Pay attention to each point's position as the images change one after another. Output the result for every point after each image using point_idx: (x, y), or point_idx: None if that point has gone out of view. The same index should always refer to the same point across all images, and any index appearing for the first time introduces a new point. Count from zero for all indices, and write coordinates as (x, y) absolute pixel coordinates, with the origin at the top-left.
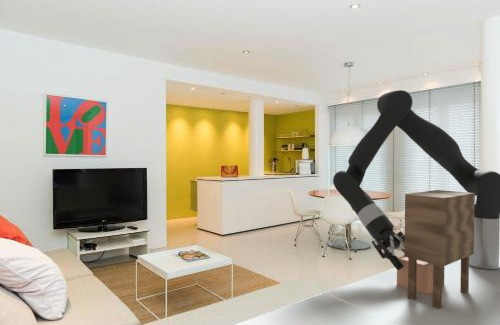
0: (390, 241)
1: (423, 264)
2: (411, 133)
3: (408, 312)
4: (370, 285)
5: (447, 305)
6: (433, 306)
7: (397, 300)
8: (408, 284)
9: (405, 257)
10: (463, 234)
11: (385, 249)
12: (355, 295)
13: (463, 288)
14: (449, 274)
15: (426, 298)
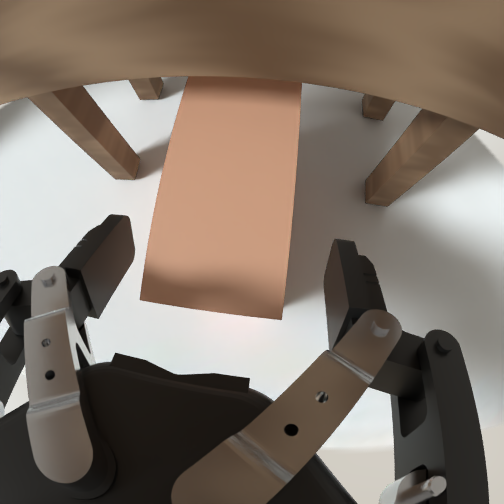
0: (311, 446)
1: (290, 102)
2: None
3: (468, 170)
4: (372, 391)
5: (322, 93)
6: (383, 117)
7: (429, 230)
8: (411, 184)
9: (208, 269)
10: None
11: (459, 377)
12: (488, 359)
13: (157, 81)
14: (6, 200)
15: (323, 156)
